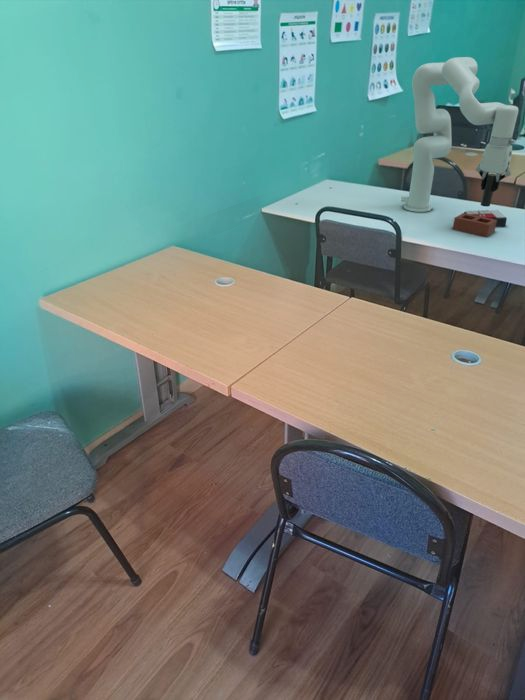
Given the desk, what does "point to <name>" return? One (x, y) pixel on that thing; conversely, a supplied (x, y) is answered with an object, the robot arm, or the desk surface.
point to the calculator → (490, 216)
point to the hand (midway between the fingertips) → (488, 189)
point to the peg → (488, 190)
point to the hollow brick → (474, 224)
